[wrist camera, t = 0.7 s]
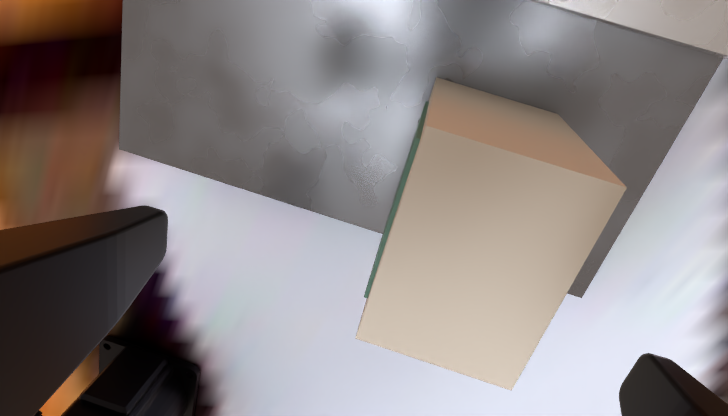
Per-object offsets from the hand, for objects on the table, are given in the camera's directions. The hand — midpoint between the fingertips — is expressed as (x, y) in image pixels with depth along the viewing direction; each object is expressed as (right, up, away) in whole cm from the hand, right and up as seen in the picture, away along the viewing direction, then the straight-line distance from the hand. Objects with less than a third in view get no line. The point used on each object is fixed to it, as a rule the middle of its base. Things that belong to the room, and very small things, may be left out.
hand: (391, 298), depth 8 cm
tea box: (+4, +3, +11) cm, 12 cm away
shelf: (0, +7, +11) cm, 13 cm away
